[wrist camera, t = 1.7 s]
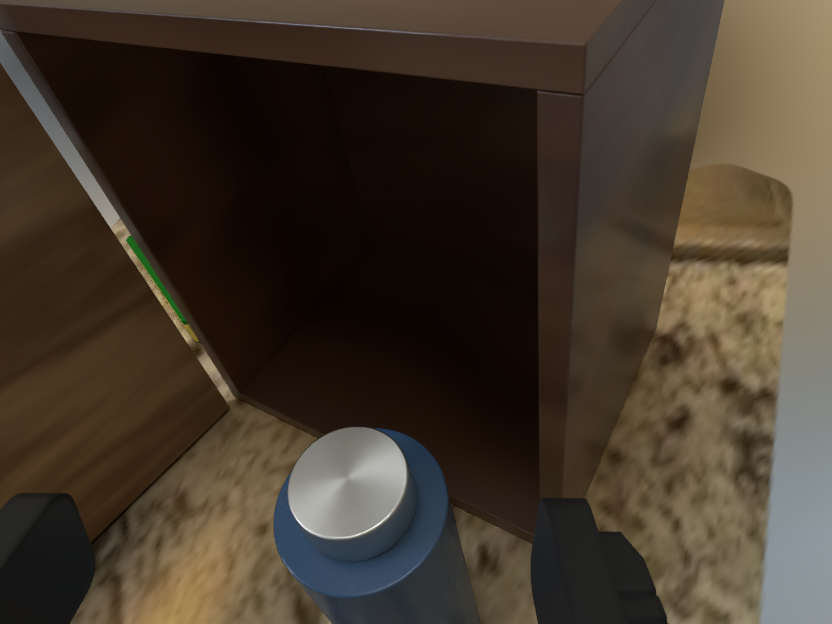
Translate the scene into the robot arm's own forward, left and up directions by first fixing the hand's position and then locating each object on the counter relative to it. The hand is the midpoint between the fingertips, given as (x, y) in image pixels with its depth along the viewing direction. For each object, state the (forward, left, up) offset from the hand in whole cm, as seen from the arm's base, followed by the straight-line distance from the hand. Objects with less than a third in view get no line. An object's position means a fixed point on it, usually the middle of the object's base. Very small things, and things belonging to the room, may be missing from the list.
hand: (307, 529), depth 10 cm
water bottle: (+2, -3, -19) cm, 19 cm away
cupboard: (+9, -17, -19) cm, 27 cm away
